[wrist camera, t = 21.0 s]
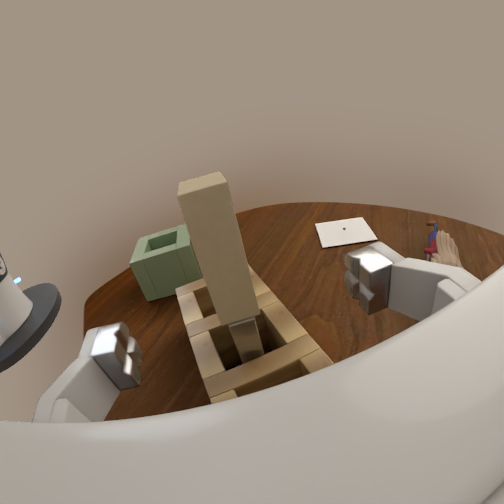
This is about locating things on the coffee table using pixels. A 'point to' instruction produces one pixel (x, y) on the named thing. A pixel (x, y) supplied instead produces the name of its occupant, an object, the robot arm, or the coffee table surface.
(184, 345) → the coffee table surface
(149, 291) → the holder
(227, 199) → the knife
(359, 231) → the white flat sheet
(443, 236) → the figurine
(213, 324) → the rack
